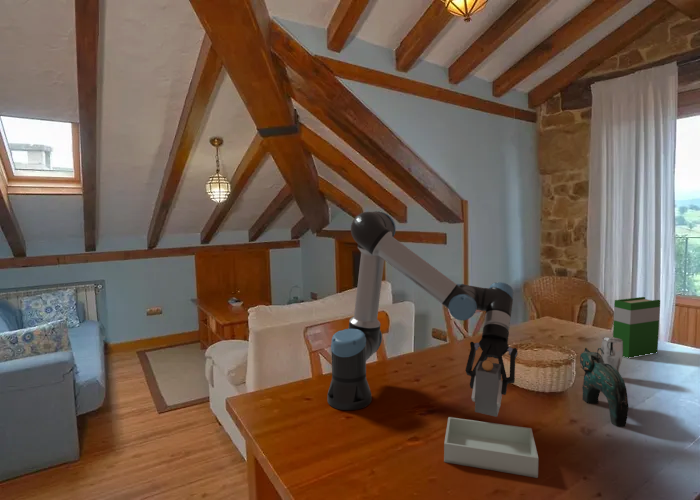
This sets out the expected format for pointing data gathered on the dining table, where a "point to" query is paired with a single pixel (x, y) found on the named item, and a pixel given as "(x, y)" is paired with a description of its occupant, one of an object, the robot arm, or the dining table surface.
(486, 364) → the ball
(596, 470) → the dining table surface
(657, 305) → the hardback book
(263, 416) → the dining table surface
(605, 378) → the teal animal figurine
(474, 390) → the robot arm
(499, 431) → the tray
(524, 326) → the dining table surface
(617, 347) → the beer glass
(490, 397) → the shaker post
